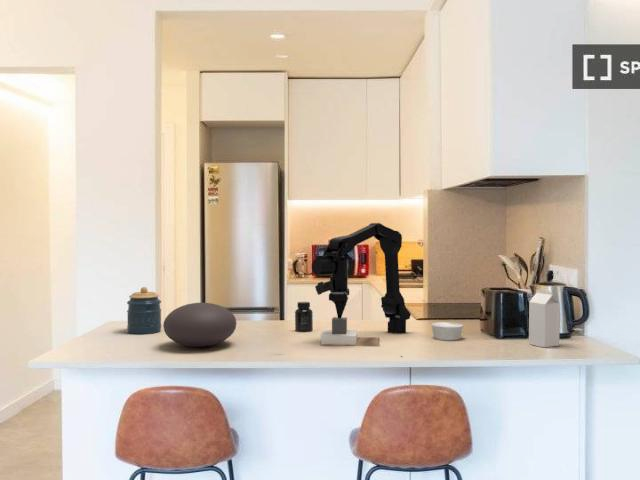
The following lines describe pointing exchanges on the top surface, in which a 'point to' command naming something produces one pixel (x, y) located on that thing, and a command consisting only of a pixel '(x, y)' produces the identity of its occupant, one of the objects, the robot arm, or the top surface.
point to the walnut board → (361, 342)
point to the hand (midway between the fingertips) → (339, 318)
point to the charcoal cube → (339, 325)
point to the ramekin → (447, 331)
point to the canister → (144, 312)
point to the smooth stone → (199, 324)
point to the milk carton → (544, 319)
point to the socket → (339, 338)
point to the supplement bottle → (303, 317)
